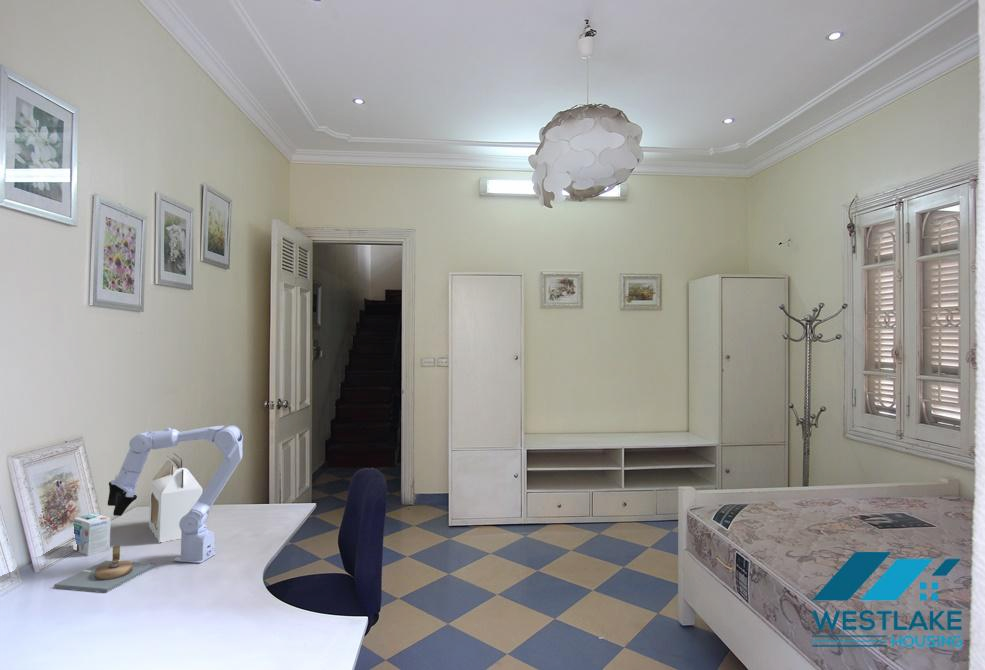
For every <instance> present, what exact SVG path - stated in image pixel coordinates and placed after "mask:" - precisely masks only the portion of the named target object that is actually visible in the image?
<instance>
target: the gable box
mask: <svg viewBox="0 0 985 670" xmlns="http://www.w3.org/2000/svg"><path fill="white" fill-rule="evenodd" d="M166 457H167V459H168V461H166V462H165V463H164V464H163V466H162V467H161V469H160V470H159V471H158V472H157V474H155V476H154V478H153V479H152V480H151V481H150V486H149V487H150V489H149V515H148V516H149V519H148V521H149V523H148V527H149V529H150V531H151V530H152V531H151V532H152V534H153V533H154V534H153V535H155V536H154V537H155V539H156V538H157V539H156V540H158V541H157V542H158V544H161V543H160V542H164V543H166V542H165V541H169V542H171V541H170V540H174V541H177V540H176V539H179V540H181V539H180V538H181V529H180V526H179V523H180V520H181V518H182V517H183V516H185V515H186V514H187V513H188V512H189V511H190V510H191V509H192V507H193V506H194V505H195V503H196V502H197V501H198V499H199V498H200V496H201V495H202V493H203V487H202V486H201V484H200V483H199V482H198V481H197V480H196V478H195V476H194V475H193V474H192V473H191V471H190V470H189V469H188V468H186V467H183V459H182V458H181V457H179V456H178V455H177V454H176V453H174V452H172V453H171V457H170V456H168V455H167V456H166Z"/></svg>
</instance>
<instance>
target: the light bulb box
mask: <svg viewBox="0 0 985 670" xmlns="http://www.w3.org/2000/svg"><path fill="white" fill-rule="evenodd" d="M111 521H112V518H111V517H108V516H105V515H103V514H99V513H96V512H95V513H93V512H92V513H90V514H87V515H82V516H77V517H74V518H73V524H72V525H73V526H74V534H75V540H76V544H77V551H78V552H77V551H76V552H77V553H80V554H82V555H84V556H87V557H89V556H93V555H95V554H99V553H103V552H105V551H106V550H107V551H110V550H109V549H111V548H110V547H111V545H110V544H111V527H112V525H111V523H112V522H111Z"/></svg>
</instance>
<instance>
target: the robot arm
mask: <svg viewBox="0 0 985 670" xmlns="http://www.w3.org/2000/svg"><path fill="white" fill-rule="evenodd" d="M197 440H206V441H208V442H209V443H214V444H215V445H216V447H217V448H218V449H219V450H220V451H221V453H222V455H223V460H222V462H221V464H220V465H219V466H218V468H217V470H216V471H215V473H214V474H213V476H212V478H211V479H210V481H209V482H208V484H207V485H206V487H205V489H204V490H202V495H201V496H200V498H199V499H198V501H197V502H196V503H195V505H194V506H193V507H192V509H191V510H190V511H189V512H188V513H187V514H186V515H185V516H183V517H182V518H181V520H180V523H179V526H180V529H181V539H180V556H178V557H175V558H174V559H173V561H174V562H183V563H194V564H201V563H203V562H204V561H206V560H208V559H210V558H211V557H213V556H215V555H216V554H217V552H216V550H215V549H216V547H215V546H216V545H215V544H216V535H215V533H214V531H211V530H209V529H207V528H208V526H207V524H206V521H208V519H209V516H210V514H209V513H210V510H211V509H212V506H213V504H214V503H215V502H216V500H217V498H218V496H219V495H220V494H221V492H222V490H223V489H224V487H225V485H226V484H227V483H228V481H229V479H230V478H231V476H232V475H233V473H234V471H235V470H236V469H237V467H238V466H239V464H240V462H241V461H242V459H243V441H244V435H243V434H242V431H241V429H240V428H239V427H238V426H236V425H232V424H230V425H227V426H225V425H215V426H209V427H208V426H207V427H201V428H196V429H189V430H184V431H179V430H177V429H176V428H171V427H167V428H165V429H163V430H158V431H157V430H156V431H154V430H149V431H145V432H142V433H139V434H136V435H135V436H132V438H131V439H130V440H129V444H128V446H129V450H128V452H127V453H126V456H125V458H124V461H123V463H122V465H121V467H120V470H119V472H118V473H117V474H116V475H115V478H114V480H113V479H112V480H111V481H109V482H108V486H109V488H108V489H109V492H108V493H109V494H108V499H107V506H108V507H109V506H111V507H114V508H113V513H112V514H113V516H115V517H119V516H120V517H121V516H122V515H123V514H124V513H125V511H126V510H127V509H128V507H129V506H130V505H131V504H132V503H133V502H134V501H135V500H137V498H138V496H137V494H136V487H137V484H138V481H139V479H140V475H141V474H142V472H143V470H144V469H143V468H144V467H145V463H146V462H147V459H148V457H149V454H150V451H151V450H160V449H167V448H173V447H177V446H178V445H179V443H182V442H189V441H197Z"/></svg>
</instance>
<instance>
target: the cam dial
mask: <svg viewBox="0 0 985 670" xmlns="http://www.w3.org/2000/svg"><path fill="white" fill-rule="evenodd" d="M120 553H121V545H120V544H117V545H113V546H112V560H111V561H113V562H111V563H107V564H104V565H101V566H99V567H98V568H96V570H95V578H97V579H101V580H106V579H114V578H118V577H121V576H124V575H126V574H128V573H130V572H131V571H132V563H133V562H132V561H130V560H129V561H128V560H120V556H121V554H120Z"/></svg>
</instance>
